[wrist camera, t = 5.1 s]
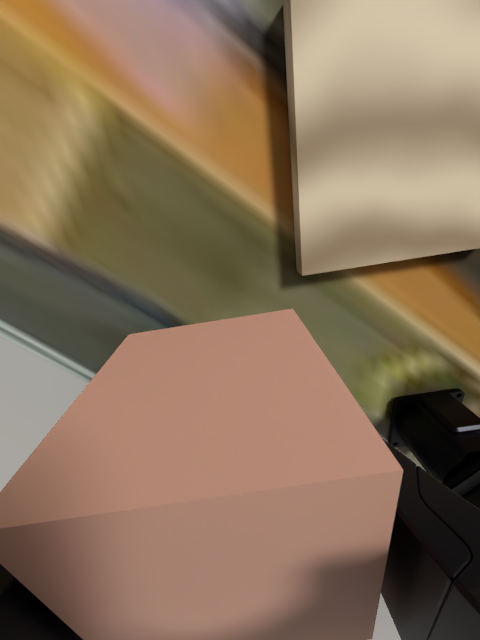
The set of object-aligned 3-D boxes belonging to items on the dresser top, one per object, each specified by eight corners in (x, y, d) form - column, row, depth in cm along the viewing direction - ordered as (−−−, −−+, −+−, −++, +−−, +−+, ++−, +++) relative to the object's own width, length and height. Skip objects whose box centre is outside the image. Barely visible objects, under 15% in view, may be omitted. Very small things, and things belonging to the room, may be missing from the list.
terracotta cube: (300, 429, 11) (372, 639, 6) (172, 448, 11) (119, 672, 6) (292, 308, 9) (403, 470, 3) (128, 334, 9) (-34, 533, 3)
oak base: (484, 241, 18) (505, 244, 17) (296, 271, 18) (302, 275, 17) (555, -43, 12) (596, -75, 11) (282, 4, 13) (289, -22, 11)
